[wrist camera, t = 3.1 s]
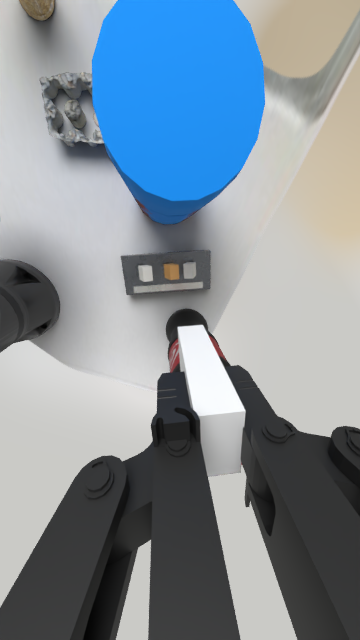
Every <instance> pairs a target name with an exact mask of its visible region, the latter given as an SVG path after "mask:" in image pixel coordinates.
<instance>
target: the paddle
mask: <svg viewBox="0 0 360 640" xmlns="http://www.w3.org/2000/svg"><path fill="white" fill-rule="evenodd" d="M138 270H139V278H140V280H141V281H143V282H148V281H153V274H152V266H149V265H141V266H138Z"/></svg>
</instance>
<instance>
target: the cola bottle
mask: <svg viewBox="0 0 360 640" xmlns="http://www.w3.org/2000/svg"><path fill="white" fill-rule="evenodd" d="M195 325H203V326H204V328H205V330H206V332H207V334H208V336H209V338H210V340H211V342H212V344H213V346H214V348H215V350H216V352H217V354H218V356H219V358H220V360H221V362H222V364H223V366H224V367H226V366H230V364H229V363H228V362H227V360H226V358H225V357H224V355H223V353H222V351H221V349H220V348H219V345H218V342H217V341H216V339H215V338H214V336H213V335H212V334H211V333H210V332H209V331H208V326H207V323H206V320H205V319H204V317H203V316H202V315H201V314H200V313H198V312H197V311H195V310H192V309H181V310H178V311H176V312H175V313H174V314H173V315H172V316H171V317H170V318H169V320H168V322H167V325H166V335H167V338H168V340H169V342H170V343H169V348H168V359H169V365H170V373H172V372H181V370H180V358H179V342H178V327H183V326H195ZM241 465H242V462H241Z"/></svg>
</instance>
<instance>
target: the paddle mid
mask: <svg viewBox="0 0 360 640" xmlns="http://www.w3.org/2000/svg"><path fill="white" fill-rule="evenodd" d="M164 274H165V278H167V279H169V280H175V279H179V265H178V264H173V263H170V264H164Z"/></svg>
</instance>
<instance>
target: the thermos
mask: <svg viewBox="0 0 360 640" xmlns="http://www.w3.org/2000/svg"><path fill="white" fill-rule="evenodd" d="M92 98H93V106H94V110H95V113H96V117H97V120H98V124H99V127H100V131H101V134H102V138H103V141H104V145H105V148H106V152H107V154H108V156H109V157H110V159H111V161H112V162H113V164H114V166H115V167H116V169H117V171H118V172H119V174H120V175H121V177H122V179H123V180H124V182H125V184H126V185H127V187H128V189H129V190H130V192H131V193H132V195H133V197H134V198H135V200H136V202H137V203H138V205H139V206H140V208H141V210H142V211H143V213H145V214H146V215H147V216H148V217H150V218H151V219H152V220H153V221H156V222H158V223H161V224H177V223H179V222H181V221H183V220H185V219H187V218H188V217H190V216H191V215H193V214H194V213H195V212H197V211H198V210H199V209H201V208H202V207H203V206H205V205H206V204H207V203H209V202H210V201H211V200H213V199H214V198H215V197H217V196H218V195H219V194H220V193H221V192H222V191H223V190H224V189H225V188H226V187H227V186H228V185H229V184H230V183H231V182H232V181H233V180H234V179H235V178H236V176H237V175H238V174H239V172H240V171H241V169H242V168H243V166H244V164H245V162H246V160H247V158H248V156H249V154H250V152H251V150H252V148H253V146H254V145H255V143H256V141H257V138H258V134H259V129H260V124H261V119H262V115H263V110H264V105H265V93H264V72H263V61H262V59H261V55H260V52H259V49H258V46H257V43H256V40H255V37H254V34H253V31H252V28H251V25H250V23H249V21H248V20H247V19H246V17H245V16H244V15H243V13H242V12H241V10H240V9H239V8H238V6H237V5H236V4H235V2H234V1H233V0H118V1H117V2H116V3H115V5H114V6H113V8H112V9H111V10H110V12H109V13H108V15H107V16H106V17H105V19H104V20H103V24H102V27H101V31H100V34H99V38H98V41H97V45H96V48H95V52H94V56H93V59H92Z"/></svg>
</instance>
